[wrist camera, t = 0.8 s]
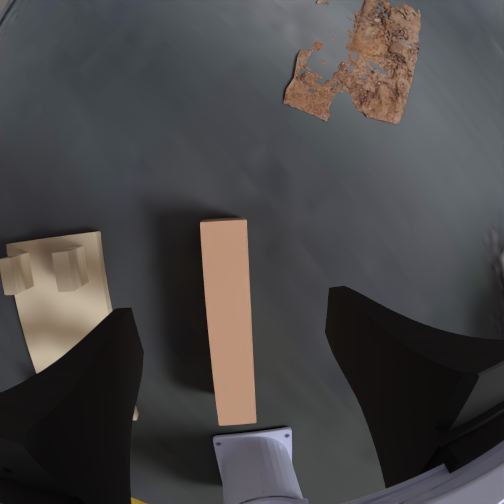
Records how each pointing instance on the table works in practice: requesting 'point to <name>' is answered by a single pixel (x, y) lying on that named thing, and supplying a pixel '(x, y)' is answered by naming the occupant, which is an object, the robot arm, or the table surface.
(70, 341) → the birch rack
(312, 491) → the table surface
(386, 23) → the bark
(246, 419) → the clay strip
